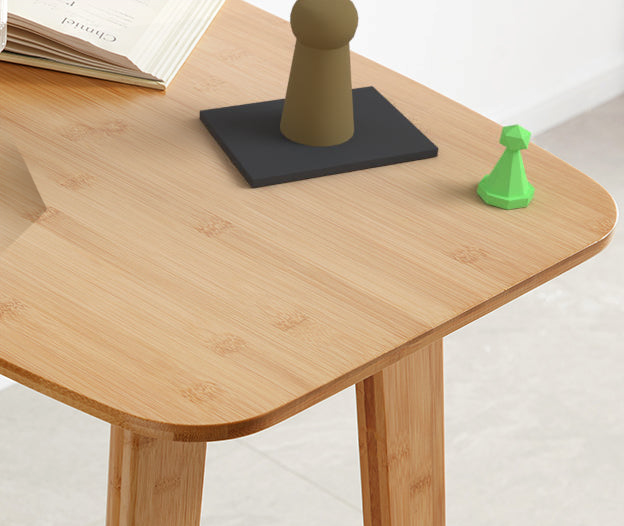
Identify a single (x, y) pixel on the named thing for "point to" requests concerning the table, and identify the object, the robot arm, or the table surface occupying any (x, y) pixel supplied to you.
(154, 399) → the table surface
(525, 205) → the game piece
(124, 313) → the table surface
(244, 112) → the back mat
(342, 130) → the olive brown pawn
